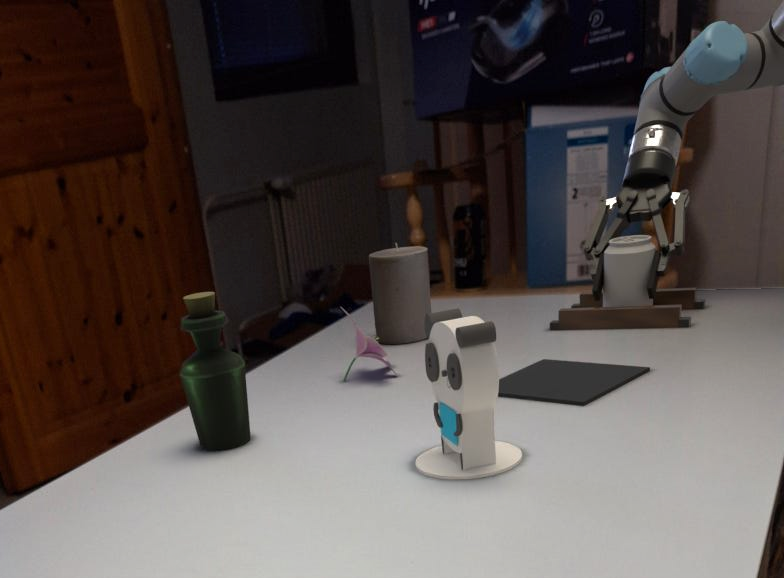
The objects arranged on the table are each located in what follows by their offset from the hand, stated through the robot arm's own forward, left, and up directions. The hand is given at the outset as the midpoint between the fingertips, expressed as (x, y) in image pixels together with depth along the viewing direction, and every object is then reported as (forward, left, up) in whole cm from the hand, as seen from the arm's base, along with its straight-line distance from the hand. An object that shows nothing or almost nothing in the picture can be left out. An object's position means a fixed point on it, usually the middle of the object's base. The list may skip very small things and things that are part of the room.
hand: (622, 294), depth 143 cm
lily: (+6, +41, -5) cm, 42 cm away
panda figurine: (-35, +51, -5) cm, 62 cm away
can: (+2, -3, -5) cm, 6 cm away
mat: (-19, +26, -4) cm, 33 cm away
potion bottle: (-7, +69, -5) cm, 70 cm away
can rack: (+2, -3, -4) cm, 6 cm away
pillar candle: (+24, +25, -5) cm, 35 cm away
